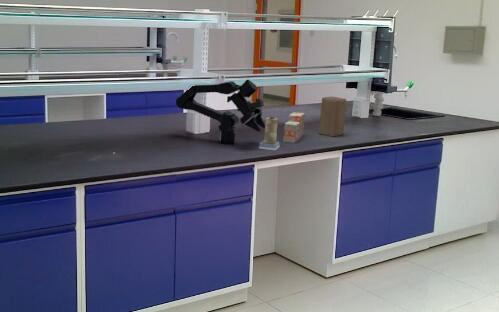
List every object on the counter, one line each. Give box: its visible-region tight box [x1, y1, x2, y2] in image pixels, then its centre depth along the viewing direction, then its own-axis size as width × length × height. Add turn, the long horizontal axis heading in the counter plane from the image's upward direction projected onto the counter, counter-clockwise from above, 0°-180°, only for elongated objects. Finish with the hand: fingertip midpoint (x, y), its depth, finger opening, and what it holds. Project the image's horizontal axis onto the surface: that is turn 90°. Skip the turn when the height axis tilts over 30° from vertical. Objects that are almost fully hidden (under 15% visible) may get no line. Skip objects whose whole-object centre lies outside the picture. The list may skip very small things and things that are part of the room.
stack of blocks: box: [282, 111, 306, 144], centre depth 290 cm, size 21×6×12 cm, turn 164°
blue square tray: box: [258, 140, 280, 151], centre depth 266 cm, size 8×8×2 cm
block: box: [318, 96, 347, 138], centre depth 304 cm, size 10×10×20 cm
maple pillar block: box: [263, 115, 279, 145], centre depth 265 cm, size 4×4×14 cm
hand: (262, 129), depth 265 cm, fingers open, 9 cm apart
